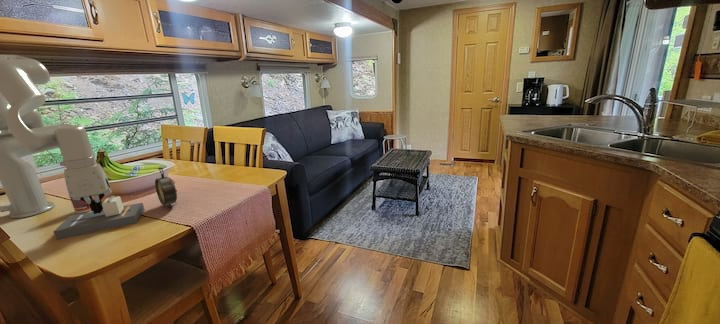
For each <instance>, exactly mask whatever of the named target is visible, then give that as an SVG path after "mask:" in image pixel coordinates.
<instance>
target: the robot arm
mask: <svg viewBox="0 0 720 324" xmlns="http://www.w3.org/2000/svg"><path fill="white" fill-rule="evenodd" d="M50 79H51V75H50V73H49V70H48V69H47V68H46V66H45V65H44V64H43V63H41V62H40V61H39V60H36V59H34V58H29V57H26V56H22V55H17V54H0V131H6V130H9V132H5V133H0V183H1V186H2V188H3V191H4V193H5V195H6V197H7V199H8V202H9V204H8V205H7V204H5V205H0V213H6V212H9V214H8V216H9V218H11V219H22V218H27V217H31V216H35V215H38V214H42V213H45V212H47V211H49V210H51V209H53V208H54V207H55V205H56V204H55V203H54V202H53V201H48V199H47V196H46V194H45V192H44V189H43V187H42V184H41V181H40V180H39V176H38V175H37V172H36V169H35V168H34V166H33V165H32V164H31V163H30V162H27V161H25V160H24V159H22V158H23V157H25V156H32V155H34V154H40V153H43V152H46V151H52V150H55V149H59V150H60V153H61V155H62V159H63V161H60V162H59V165H60V167H63V166H64V167H65V169H63V174H64V175H63V176H64V181H65V186H66V190H67V193H68V196H69V198H70V197H71V198H72V199H73V200H82V201H84V202H86V203H87V204H89V205H90V208H91V211H90V212H94V214H97V213H101V211H102V210H104V209H103V206H102V203H103V201H102V200H103V199H104V197H105V196H109V195H112V193H113V191H112V189H111V184H110V181H109V179H108V176H107V174H106V172H105V170H104V169H103V167H102V165H101V163H97V160H96V157H95V152H94V150H93V147H92V146H91V141H90V139H89V136H88V133H87V129H86V128H85V127H84V126H83V125H78V124H77V125H76V124H75V125H73V124H70V123H62V124H61V123H60V124H55V125H45V124H44V121H43V119H42V115H41V112H40V111H39V110H38V109H40V108H41V107H42V106H43V105H44V104H45V103H46V99H47V98H46V96H45V94H44V93H43V92H42V91H41V90H40V89H39V88H38V86H37V85H46V84H48V83H49V81H50ZM93 196H94V197H93Z"/></svg>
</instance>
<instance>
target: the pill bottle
mask: <svg viewBox="0 0 720 324" xmlns="http://www.w3.org/2000/svg"><path fill="white" fill-rule="evenodd" d="M69 199H70V201H71V205H72V207H73V209H74V212H75V213H76V214H83V213H89V212H92V211H91V208H90V205H89V204H87V203H86V202H84V201H82V200H73V199H72V198H71V197H70V196H69Z"/></svg>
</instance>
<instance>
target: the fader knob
mask: <svg viewBox="0 0 720 324" xmlns="http://www.w3.org/2000/svg"><path fill="white" fill-rule="evenodd" d="M102 206H103V210H104V212H105V215H106V217H107V216H112V215H118V214H120V213H121V212H122V211H123V209H124V207H123V206H124V205H123V202H122V198H121V195H120V196H119V195H117V196H115V195H111V196H110V197H107V198H106V199H105V200H104V201H102Z"/></svg>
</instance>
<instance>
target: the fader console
mask: <svg viewBox="0 0 720 324" xmlns="http://www.w3.org/2000/svg"><path fill="white" fill-rule="evenodd" d="M123 207H124V209H123V211H122V212H121V213H120V214H118V215H112V216H107V217H106V215H105V212H104V209H103V210H102V211H101V213H97V214H94V212H93V211H88V212H84V213H77V214H73V215H70V216H68V217H67V218H66V219H65V220H64V221H63V222H62V223H61V224H59V226H58V227H56V229H54V230H53V231H52V232H53V234H54V236H55V239H56V240H61V239H66V238H70V237H76V236H81V235H86V234H90V233H95V232H101V231H105V230H110V229H115V228H120V227H124V226H125V227H126V226H129V225H130V226H131V225H136V224H138V222H139V220H140V218H141V217H142V215H143V213H144V212H145V206H144V203H143V202H139V203H134V204H133V203H132V204H129V205H128V204H126V205H123Z"/></svg>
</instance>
